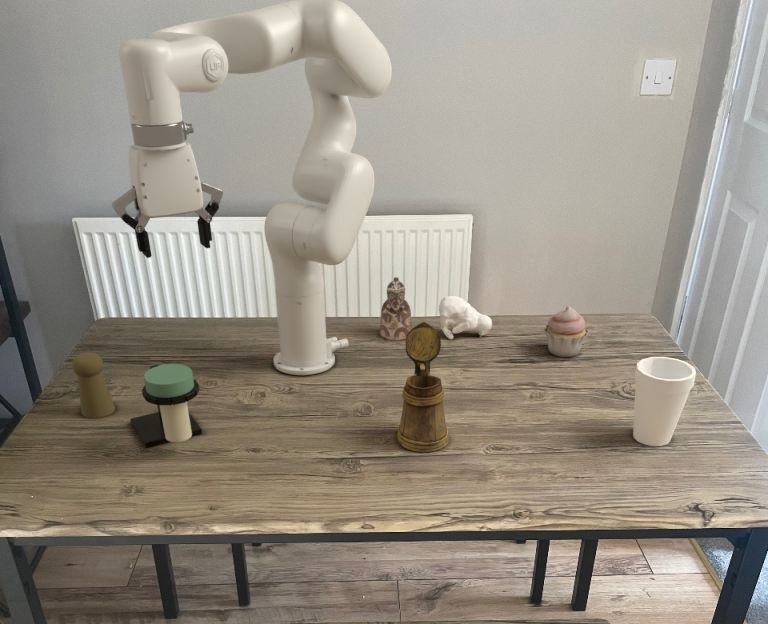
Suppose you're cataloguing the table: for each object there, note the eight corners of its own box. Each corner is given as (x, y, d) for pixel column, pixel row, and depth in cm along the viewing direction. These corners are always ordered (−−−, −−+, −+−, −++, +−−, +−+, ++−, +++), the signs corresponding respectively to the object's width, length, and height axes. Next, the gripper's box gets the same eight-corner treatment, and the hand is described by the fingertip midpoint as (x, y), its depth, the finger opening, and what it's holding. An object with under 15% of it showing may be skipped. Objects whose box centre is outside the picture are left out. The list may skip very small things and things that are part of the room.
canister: (193, 420, 139) (183, 360, 133) (207, 440, 134) (198, 377, 127) (150, 431, 136) (138, 370, 130) (163, 451, 131) (151, 388, 124)
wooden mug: (446, 414, 147) (450, 321, 137) (449, 452, 136) (454, 353, 125) (397, 414, 147) (397, 321, 137) (397, 452, 136) (397, 353, 126)
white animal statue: (440, 290, 175) (495, 296, 175) (435, 327, 180) (488, 333, 180) (440, 301, 170) (496, 307, 170) (435, 338, 175) (490, 344, 175)
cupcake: (552, 339, 175) (558, 294, 169) (592, 349, 170) (599, 304, 165) (533, 353, 169) (538, 308, 163) (574, 364, 164) (580, 318, 158)
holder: (184, 410, 149) (174, 350, 142) (218, 455, 136) (209, 391, 129) (131, 423, 145) (118, 362, 138) (160, 470, 132) (147, 405, 125)
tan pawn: (105, 419, 146) (92, 363, 140) (75, 416, 147) (61, 361, 141) (120, 404, 151) (109, 349, 144) (91, 401, 152) (78, 347, 145)
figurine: (377, 339, 176) (376, 285, 169) (382, 326, 181) (382, 274, 174) (409, 341, 175) (410, 287, 168) (413, 328, 180) (414, 275, 173)
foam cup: (649, 455, 135) (664, 385, 127) (612, 431, 141) (625, 363, 134) (691, 442, 138) (708, 373, 131) (653, 419, 145) (667, 352, 138)
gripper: (206, 125, 125) (219, 236, 135) (94, 136, 119) (117, 252, 128) (222, 133, 120) (235, 248, 130) (106, 145, 113) (129, 266, 123)
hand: (176, 250), depth 129 cm, fingers open, 9 cm apart
